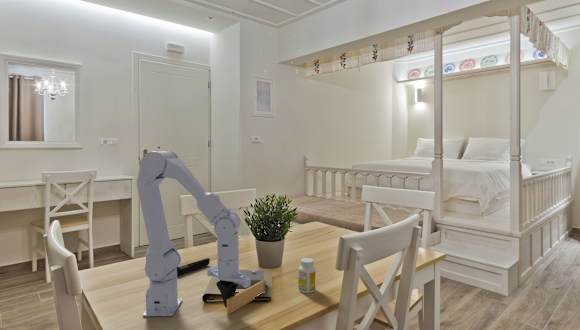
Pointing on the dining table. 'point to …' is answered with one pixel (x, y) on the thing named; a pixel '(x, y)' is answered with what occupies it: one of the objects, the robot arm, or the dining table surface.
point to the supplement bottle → (306, 276)
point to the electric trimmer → (192, 266)
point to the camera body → (252, 277)
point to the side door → (244, 296)
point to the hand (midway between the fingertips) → (228, 306)
